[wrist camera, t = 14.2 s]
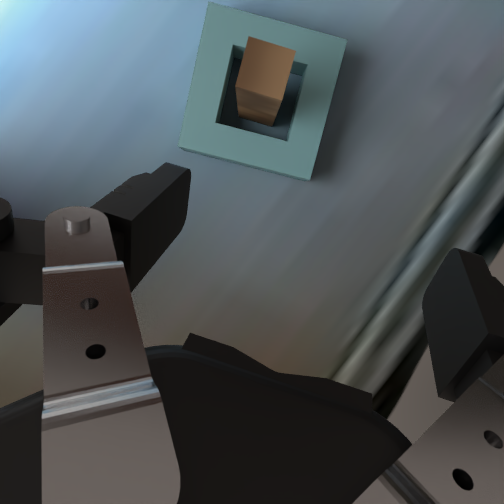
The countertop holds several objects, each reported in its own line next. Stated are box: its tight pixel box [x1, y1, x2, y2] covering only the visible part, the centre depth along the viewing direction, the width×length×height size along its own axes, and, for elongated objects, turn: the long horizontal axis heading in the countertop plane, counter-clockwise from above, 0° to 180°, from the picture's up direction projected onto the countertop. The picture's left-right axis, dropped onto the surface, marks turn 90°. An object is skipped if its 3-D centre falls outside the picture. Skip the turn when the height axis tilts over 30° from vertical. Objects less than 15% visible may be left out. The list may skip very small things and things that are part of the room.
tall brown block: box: [235, 36, 296, 127], centre depth 29 cm, size 3×3×10 cm
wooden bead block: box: [178, 2, 347, 181], centre depth 32 cm, size 11×11×3 cm
